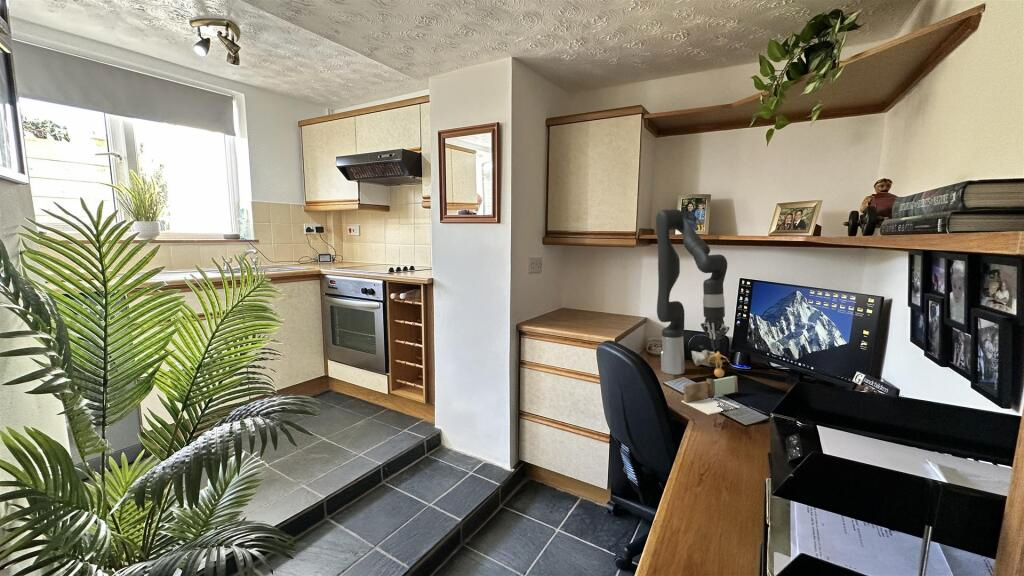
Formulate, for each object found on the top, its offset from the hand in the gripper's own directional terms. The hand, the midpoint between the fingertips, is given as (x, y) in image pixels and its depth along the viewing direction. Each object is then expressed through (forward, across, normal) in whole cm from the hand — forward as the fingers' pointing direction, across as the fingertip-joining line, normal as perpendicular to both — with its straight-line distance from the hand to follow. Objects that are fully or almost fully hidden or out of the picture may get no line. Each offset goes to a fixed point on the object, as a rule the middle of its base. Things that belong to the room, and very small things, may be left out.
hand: (715, 348), depth 156 cm
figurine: (+17, +11, -12) cm, 23 cm away
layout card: (+17, -11, +14) cm, 25 cm away
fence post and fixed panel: (+17, -6, +14) cm, 23 cm away
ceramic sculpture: (+17, +27, -21) cm, 38 cm away
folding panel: (+16, -7, +2) cm, 18 cm away
